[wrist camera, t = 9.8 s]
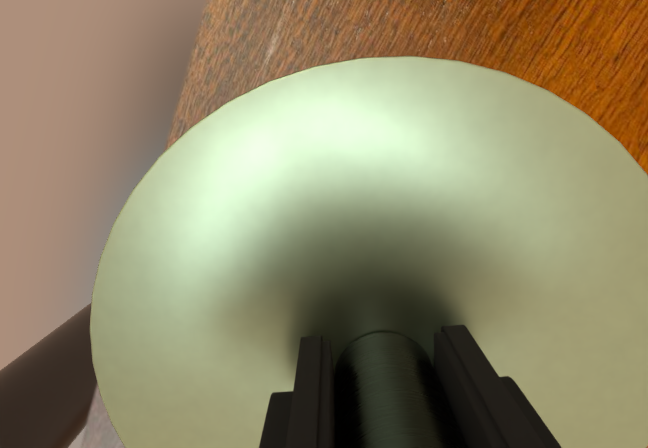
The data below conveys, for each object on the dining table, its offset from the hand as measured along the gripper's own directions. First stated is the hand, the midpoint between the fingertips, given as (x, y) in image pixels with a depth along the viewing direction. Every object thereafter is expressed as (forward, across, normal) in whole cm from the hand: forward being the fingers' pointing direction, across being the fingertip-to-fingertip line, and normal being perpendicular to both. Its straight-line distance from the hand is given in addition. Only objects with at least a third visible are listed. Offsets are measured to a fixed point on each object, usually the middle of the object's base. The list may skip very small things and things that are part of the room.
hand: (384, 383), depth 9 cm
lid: (+1, 0, 0) cm, 1 cm away
